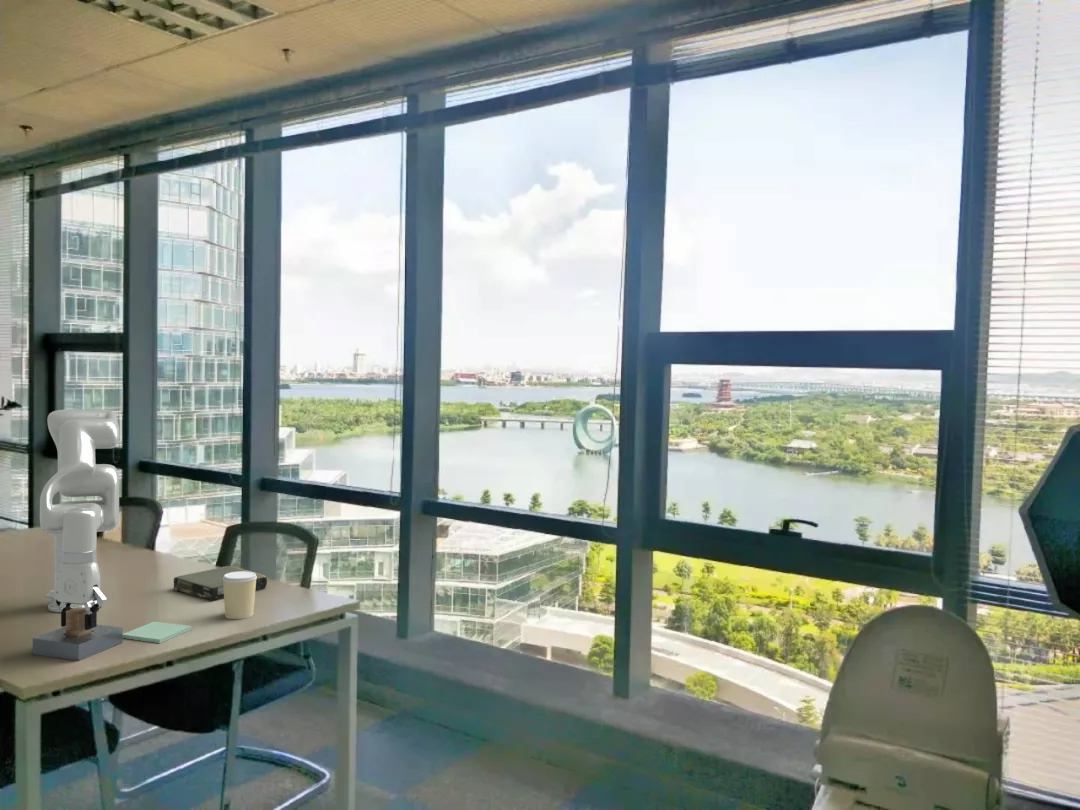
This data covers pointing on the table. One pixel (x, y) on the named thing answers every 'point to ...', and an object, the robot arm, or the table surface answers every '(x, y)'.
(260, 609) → the table surface
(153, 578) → the table surface
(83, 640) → the hole block
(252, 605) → the coffee cup
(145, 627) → the green pad
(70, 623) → the walnut peg
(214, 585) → the network switch
